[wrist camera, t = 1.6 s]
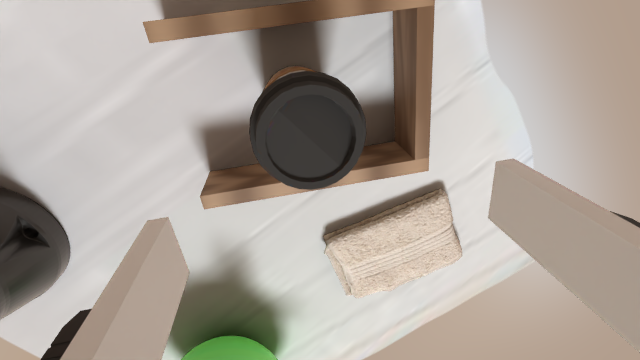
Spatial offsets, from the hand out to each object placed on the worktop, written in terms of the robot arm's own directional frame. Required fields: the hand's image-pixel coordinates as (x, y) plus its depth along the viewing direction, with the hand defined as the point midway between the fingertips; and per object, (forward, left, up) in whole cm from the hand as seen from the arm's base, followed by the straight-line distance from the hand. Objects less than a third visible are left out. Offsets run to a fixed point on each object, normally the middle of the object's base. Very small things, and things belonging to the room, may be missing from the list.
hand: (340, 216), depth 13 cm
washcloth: (+20, -14, -25) cm, 35 cm away
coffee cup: (0, 0, -24) cm, 25 cm away
